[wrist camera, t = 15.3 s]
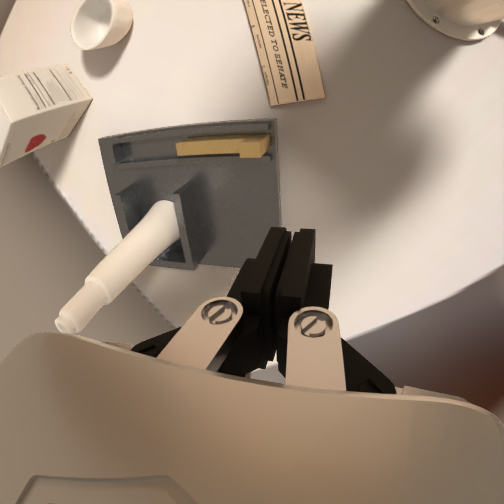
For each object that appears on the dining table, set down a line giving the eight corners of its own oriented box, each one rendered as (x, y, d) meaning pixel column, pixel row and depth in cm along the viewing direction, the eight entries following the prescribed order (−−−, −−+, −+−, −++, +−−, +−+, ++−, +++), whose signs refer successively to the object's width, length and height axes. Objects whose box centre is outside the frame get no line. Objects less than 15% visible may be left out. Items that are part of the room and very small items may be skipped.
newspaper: (226, -63, 20) (221, -68, 19) (285, -77, 18) (282, -83, 16) (272, 105, 31) (268, 106, 30) (335, 96, 29) (335, 96, 27)
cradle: (276, 118, 31) (265, 125, 27) (282, 267, 42) (274, 290, 37) (102, 137, 38) (79, 146, 34) (131, 252, 48) (114, 269, 44)
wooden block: (270, 133, 31) (259, 142, 27) (270, 146, 32) (260, 157, 28) (186, 137, 34) (166, 147, 30) (188, 149, 35) (168, 160, 31)
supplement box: (68, 138, 40) (-6, 173, 27) (44, 102, 37) (-29, 128, 25) (95, 98, 35) (10, 124, 23) (67, 61, 32) (-14, 78, 20)
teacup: (141, 43, 30) (114, 42, 25) (97, 54, 31) (70, 56, 27) (142, -23, 24) (116, -30, 20) (98, -7, 26) (71, -10, 21)
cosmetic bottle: (155, 237, 44) (57, 343, 26) (146, 199, 40) (31, 297, 23) (191, 240, 42) (97, 360, 24) (184, 199, 39) (69, 311, 21)
